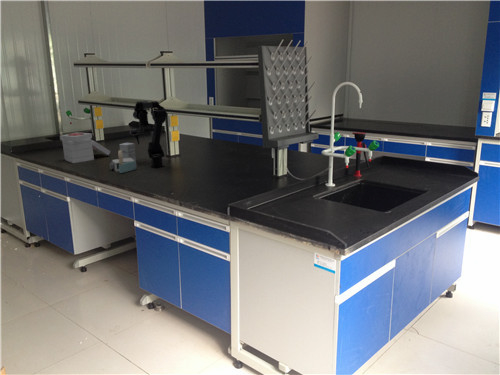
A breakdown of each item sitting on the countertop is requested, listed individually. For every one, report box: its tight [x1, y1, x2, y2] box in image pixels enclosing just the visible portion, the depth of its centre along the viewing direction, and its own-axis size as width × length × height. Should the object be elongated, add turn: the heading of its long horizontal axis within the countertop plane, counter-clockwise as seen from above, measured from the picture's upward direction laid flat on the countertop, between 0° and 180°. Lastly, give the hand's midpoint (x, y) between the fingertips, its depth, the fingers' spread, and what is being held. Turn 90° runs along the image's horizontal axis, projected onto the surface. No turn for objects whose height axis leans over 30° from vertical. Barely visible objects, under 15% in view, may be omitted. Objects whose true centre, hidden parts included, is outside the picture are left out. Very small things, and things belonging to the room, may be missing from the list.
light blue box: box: [109, 158, 134, 172], centre depth 276 cm, size 14×10×6 cm
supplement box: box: [118, 142, 137, 162], centre depth 294 cm, size 7×7×13 cm
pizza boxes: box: [59, 131, 112, 164], centre depth 306 cm, size 19×30×18 cm, turn 133°
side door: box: [117, 149, 138, 174], centre depth 268 cm, size 13×2×14 cm, turn 145°
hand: (145, 143), depth 289 cm, fingers open, 9 cm apart
